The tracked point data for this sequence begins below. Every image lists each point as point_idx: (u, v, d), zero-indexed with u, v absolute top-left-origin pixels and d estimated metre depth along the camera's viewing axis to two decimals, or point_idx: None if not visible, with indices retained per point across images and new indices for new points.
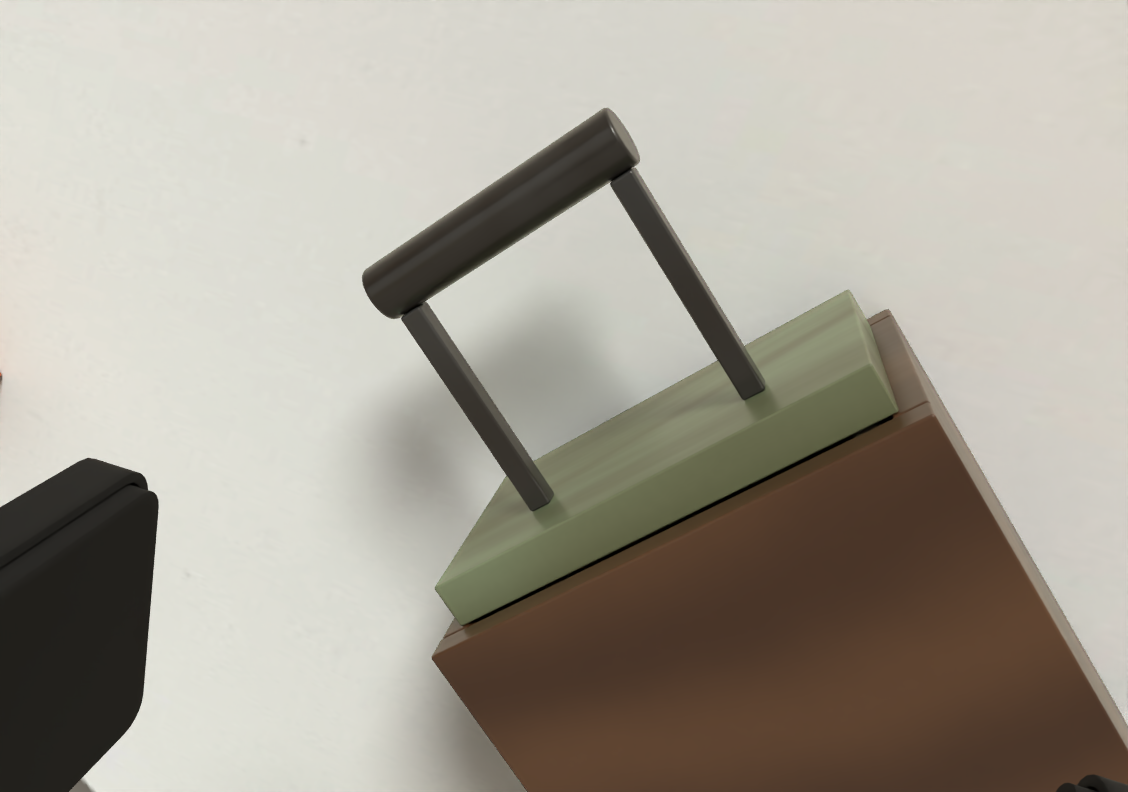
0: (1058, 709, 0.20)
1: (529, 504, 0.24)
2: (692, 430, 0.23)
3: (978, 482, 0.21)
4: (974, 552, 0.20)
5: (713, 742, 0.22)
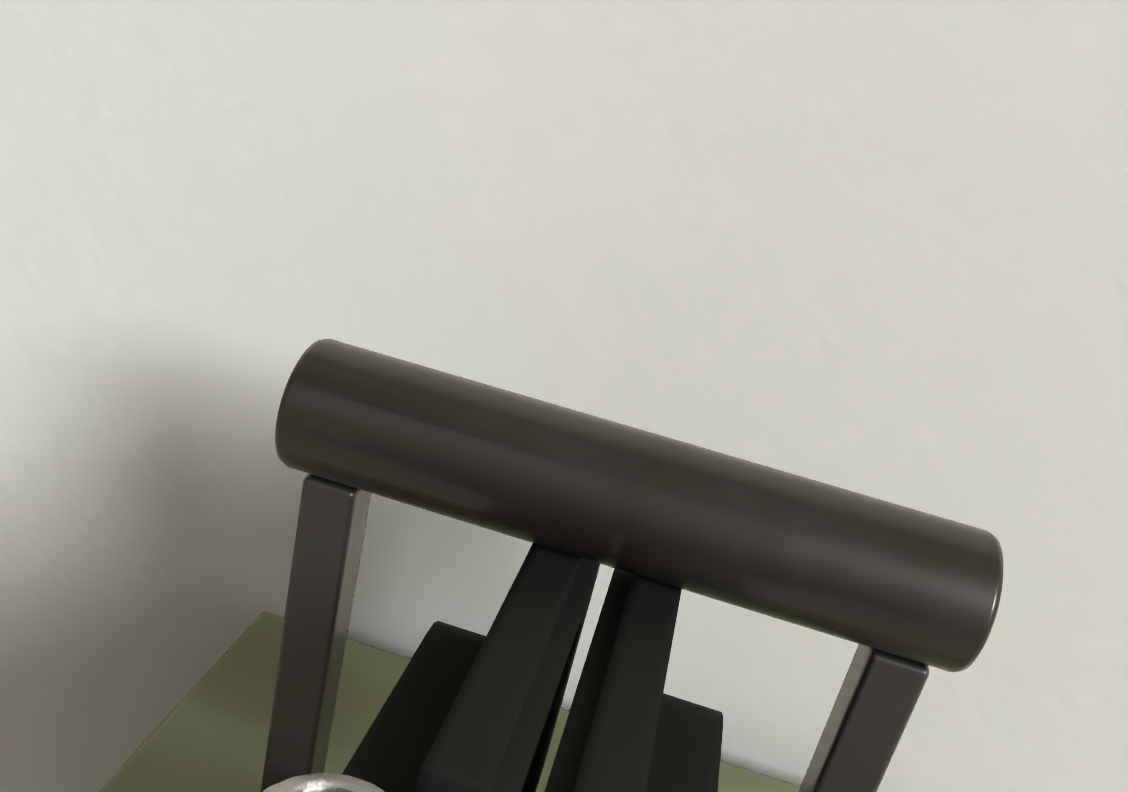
0: None
1: None
2: None
3: None
4: None
5: None
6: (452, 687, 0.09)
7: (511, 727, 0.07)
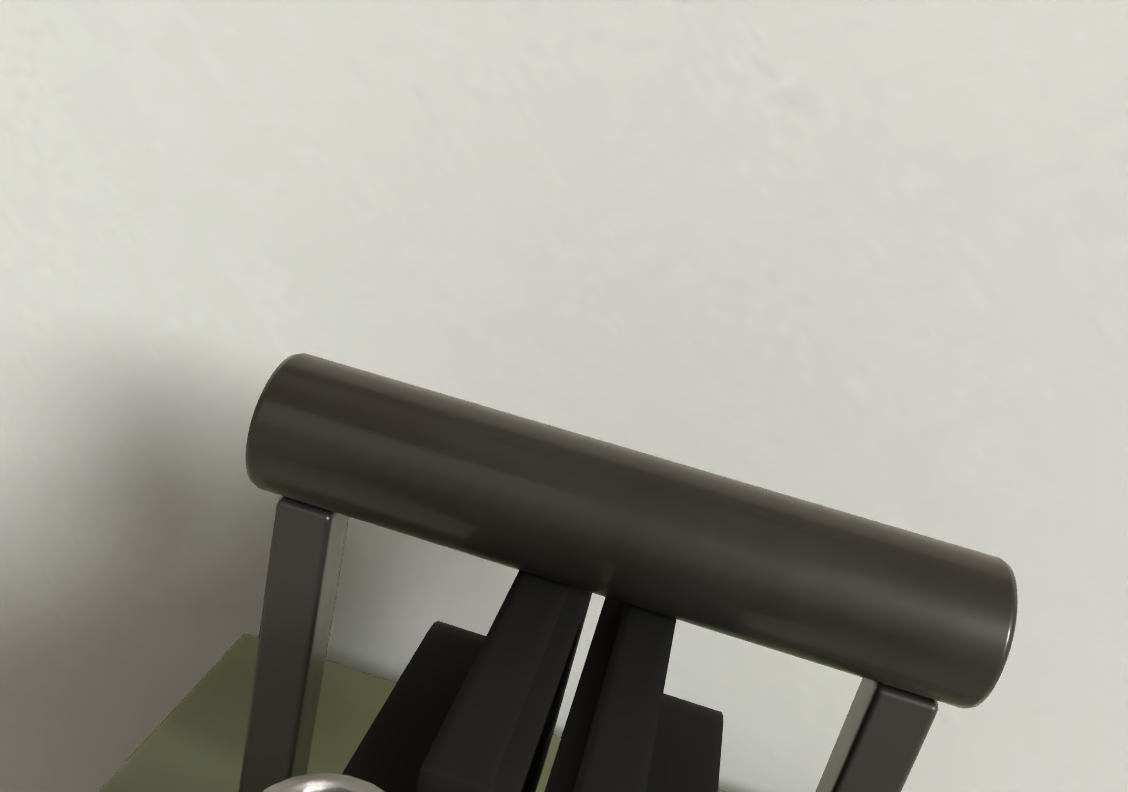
0: None
1: None
2: None
3: None
4: None
5: None
6: (452, 687, 0.09)
7: (511, 727, 0.07)
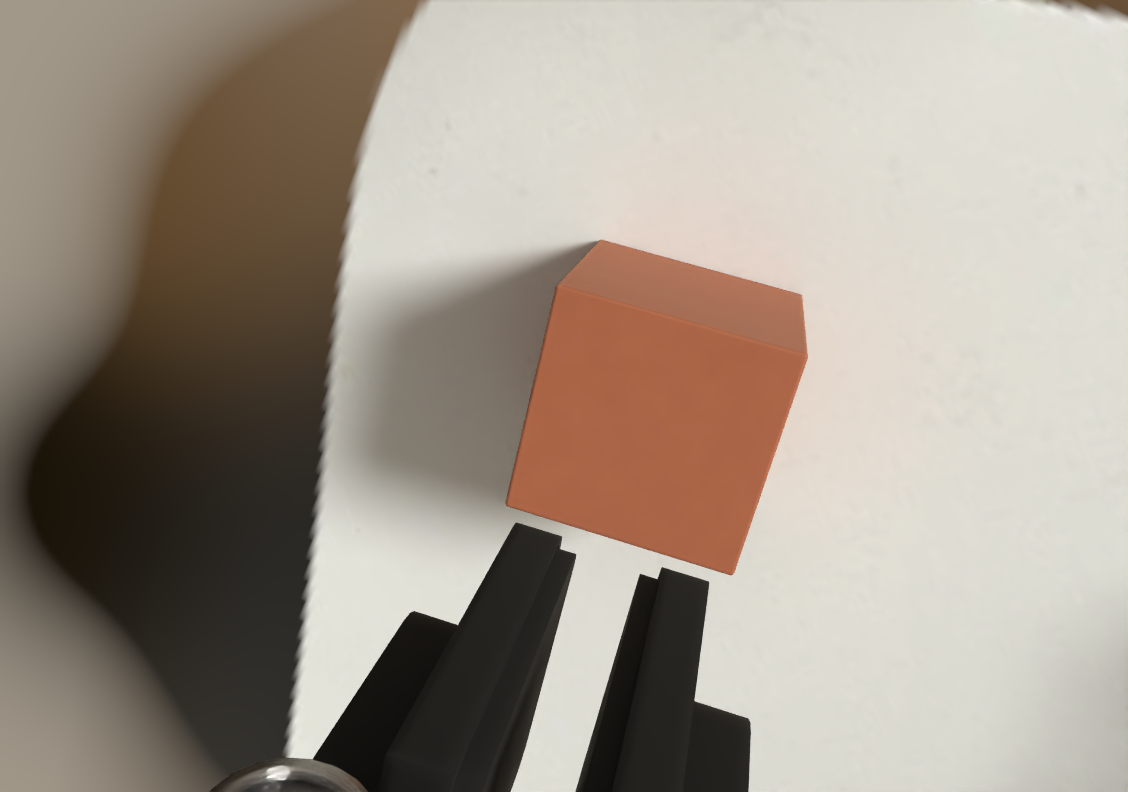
0: None
1: None
2: None
3: None
4: None
5: None
6: (426, 677, 0.09)
7: (479, 714, 0.07)
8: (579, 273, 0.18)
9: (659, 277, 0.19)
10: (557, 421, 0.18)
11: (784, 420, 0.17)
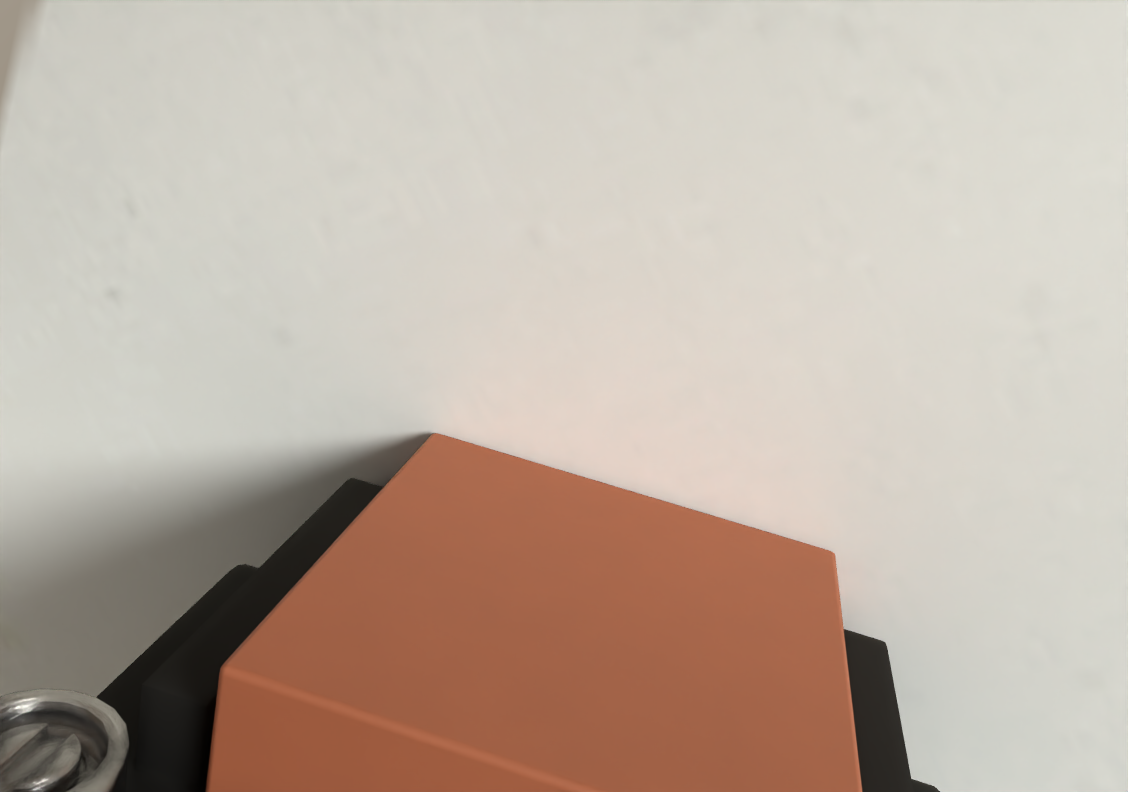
0: None
1: None
2: None
3: None
4: None
5: None
6: None
7: None
8: (317, 589, 0.07)
9: (527, 557, 0.09)
10: None
11: None
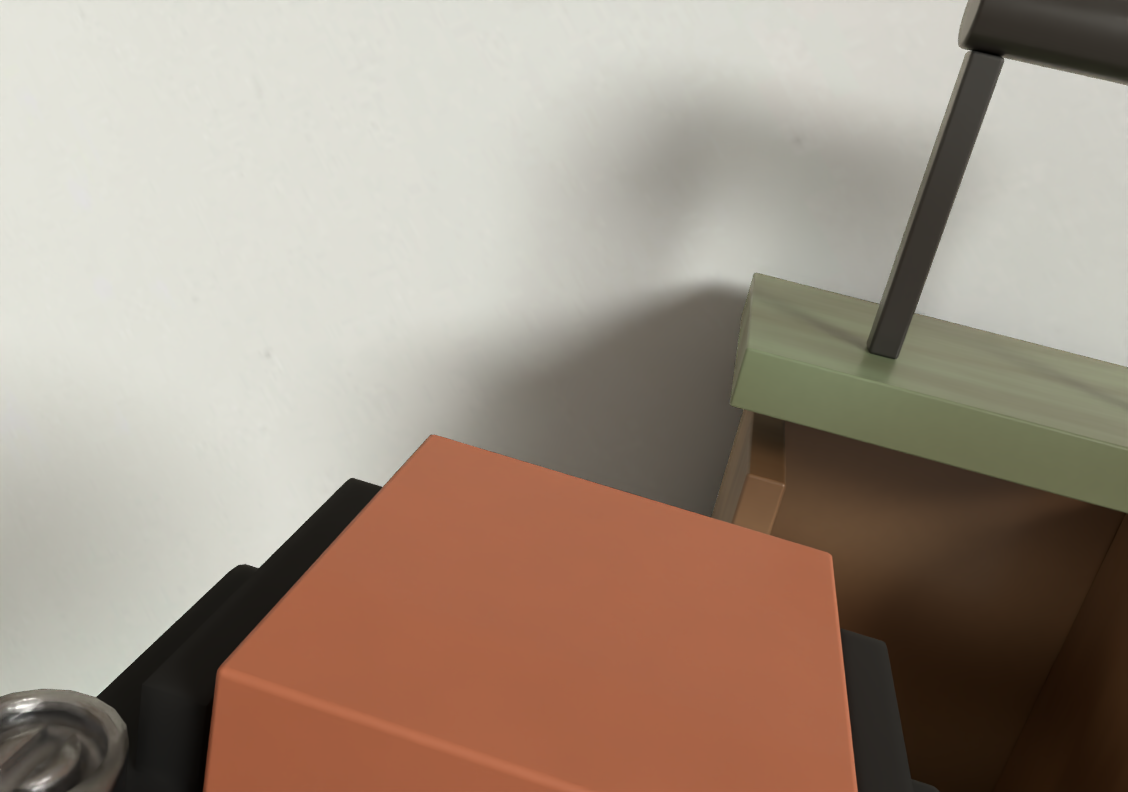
0: None
1: (876, 344, 0.19)
2: (1110, 418, 0.19)
3: None
4: None
5: None
6: None
7: None
8: (315, 591, 0.07)
9: (524, 559, 0.09)
10: None
11: None
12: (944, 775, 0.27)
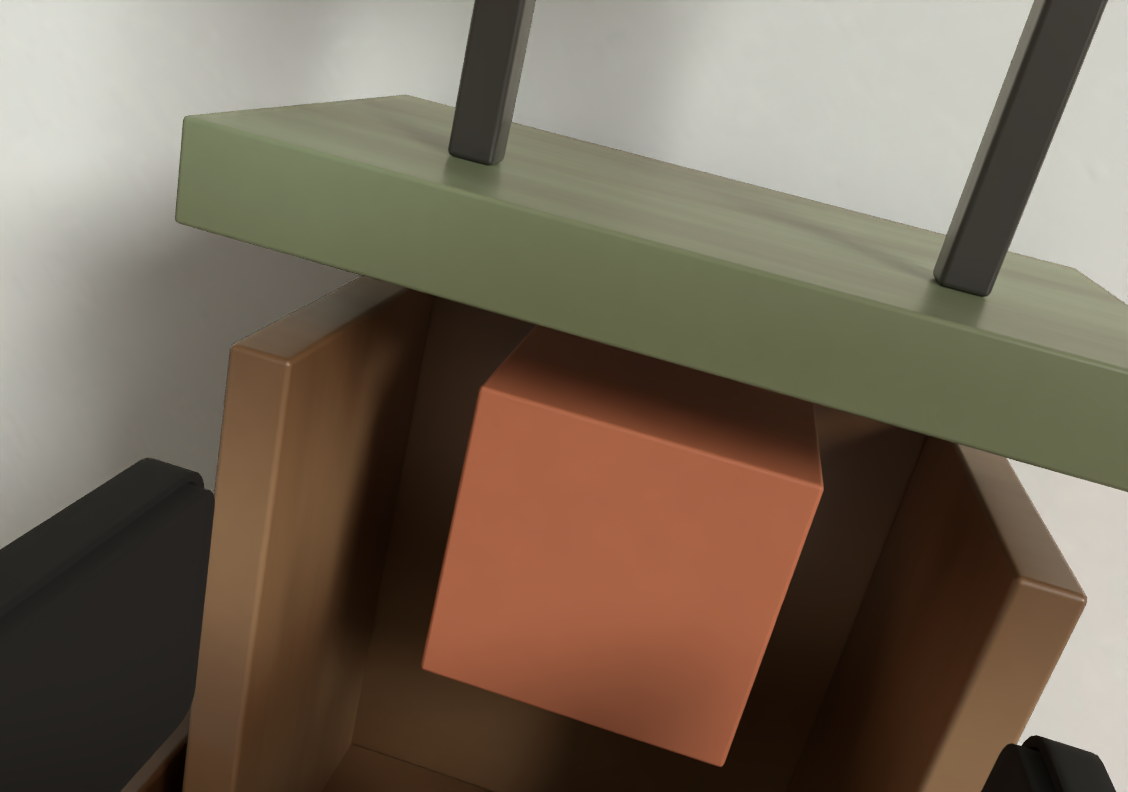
0: None
1: (456, 138, 0.12)
2: (824, 257, 0.11)
3: None
4: None
5: None
6: None
7: None
8: (515, 364, 0.13)
9: (625, 363, 0.14)
10: (485, 565, 0.13)
11: (791, 571, 0.12)
12: None
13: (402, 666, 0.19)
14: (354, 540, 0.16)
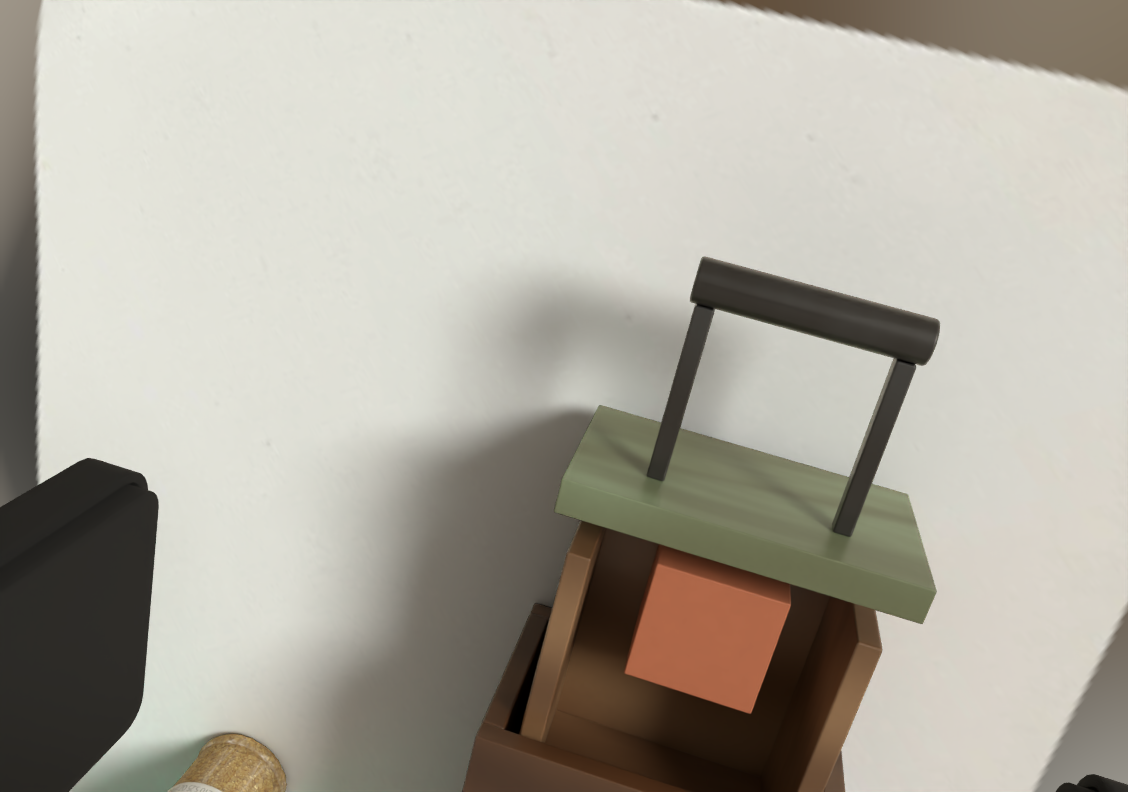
0: None
1: (650, 471, 0.31)
2: (790, 522, 0.30)
3: None
4: None
5: None
6: None
7: None
8: (666, 549, 0.32)
9: None
10: (655, 631, 0.32)
11: (778, 636, 0.31)
12: (735, 747, 0.38)
13: (586, 671, 0.39)
14: (580, 614, 0.35)
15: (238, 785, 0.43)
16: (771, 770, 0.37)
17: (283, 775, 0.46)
